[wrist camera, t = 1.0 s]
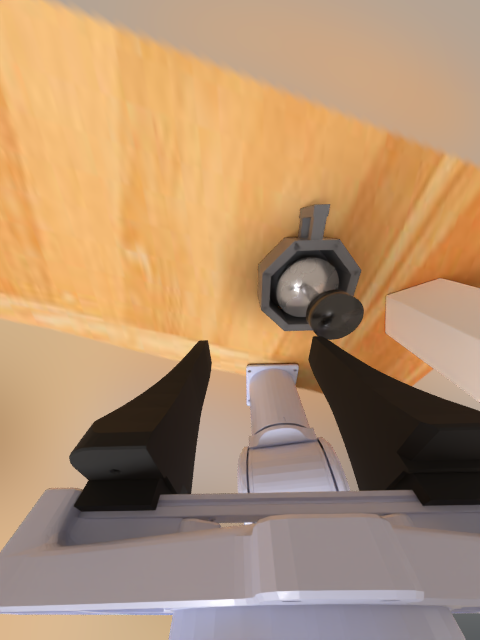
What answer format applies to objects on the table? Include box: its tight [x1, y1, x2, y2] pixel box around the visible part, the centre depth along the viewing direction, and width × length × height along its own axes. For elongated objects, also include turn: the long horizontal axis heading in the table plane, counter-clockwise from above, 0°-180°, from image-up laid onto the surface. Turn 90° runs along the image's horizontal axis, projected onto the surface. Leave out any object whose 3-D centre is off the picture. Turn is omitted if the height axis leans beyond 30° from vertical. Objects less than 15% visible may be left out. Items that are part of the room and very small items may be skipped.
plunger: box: [276, 257, 364, 340], centre depth 14 cm, size 6×6×6 cm
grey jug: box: [258, 204, 361, 331], centre depth 18 cm, size 12×9×4 cm
